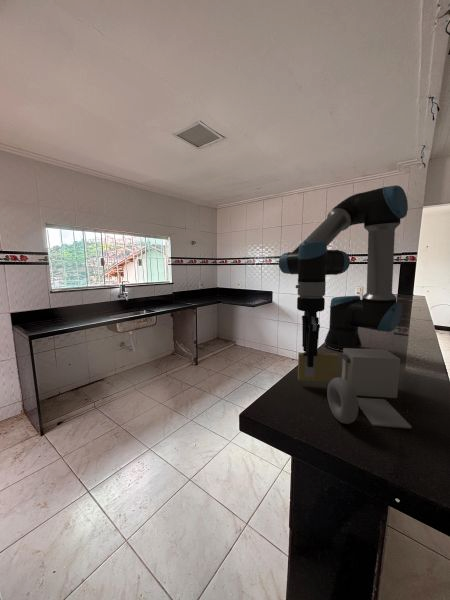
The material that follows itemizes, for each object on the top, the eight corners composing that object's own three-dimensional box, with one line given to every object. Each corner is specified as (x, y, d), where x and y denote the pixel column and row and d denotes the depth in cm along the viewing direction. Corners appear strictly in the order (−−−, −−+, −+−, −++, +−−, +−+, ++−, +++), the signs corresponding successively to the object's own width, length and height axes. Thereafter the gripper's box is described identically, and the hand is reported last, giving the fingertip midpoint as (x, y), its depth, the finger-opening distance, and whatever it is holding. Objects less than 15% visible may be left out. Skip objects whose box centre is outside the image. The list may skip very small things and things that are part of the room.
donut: (323, 408, 64) (325, 370, 62) (336, 408, 64) (338, 370, 63) (344, 434, 54) (347, 389, 52) (360, 433, 54) (363, 389, 53)
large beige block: (338, 382, 78) (340, 347, 77) (382, 384, 77) (385, 349, 75) (347, 394, 71) (349, 356, 69) (397, 398, 69) (400, 359, 68)
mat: (353, 398, 68) (353, 397, 68) (384, 400, 67) (385, 399, 67) (372, 425, 57) (372, 423, 57) (411, 428, 56) (411, 426, 56)
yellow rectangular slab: (297, 377, 77) (298, 352, 76) (335, 379, 76) (336, 353, 75) (298, 380, 76) (299, 354, 74) (337, 381, 74) (338, 355, 73)
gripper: (294, 293, 80) (292, 364, 83) (301, 299, 66) (299, 385, 69) (318, 293, 79) (316, 365, 82) (331, 299, 65) (328, 386, 68)
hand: (308, 374), depth 76 cm, fingers closed on yellow rectangular slab, 2 cm apart
